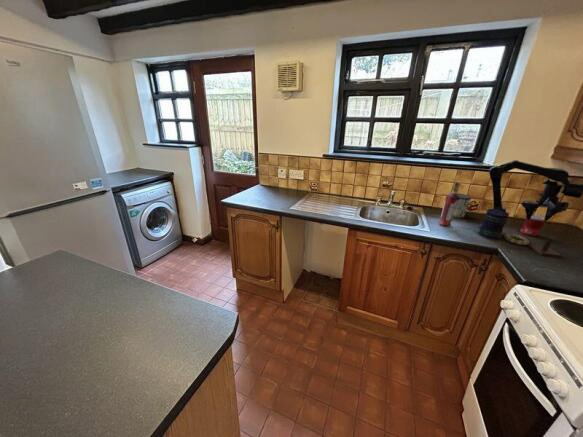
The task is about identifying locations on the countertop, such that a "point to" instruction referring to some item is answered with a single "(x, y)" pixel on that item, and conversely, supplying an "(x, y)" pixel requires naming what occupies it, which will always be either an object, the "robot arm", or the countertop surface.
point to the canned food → (532, 225)
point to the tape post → (545, 249)
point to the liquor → (450, 206)
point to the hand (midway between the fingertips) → (536, 220)
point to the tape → (510, 238)
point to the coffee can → (462, 205)
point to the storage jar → (493, 224)
